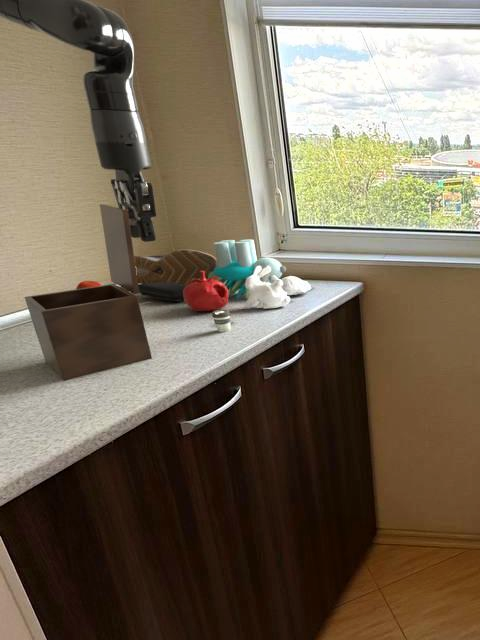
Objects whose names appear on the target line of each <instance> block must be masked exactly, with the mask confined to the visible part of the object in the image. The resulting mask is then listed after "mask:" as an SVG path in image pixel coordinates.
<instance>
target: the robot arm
mask: <svg viewBox="0 0 480 640" xmlns="http://www.w3.org/2000/svg"><path fill="white" fill-rule="evenodd" d="M0 18H1V19H4V20H6V21H9V22H11V23H14V24H16V25H19V26H22V27H24V28H26V29H30V30H32V31H35V32H37V33H40V34H45V35H47V36H49V37H52V38H53V39H55V40H56V41H57V40H58V41H59V42H61V43H63V44H65V45H69V46H71V47H73V48H76V49H79V50H82V51H85V52H88V53H92V56H93V68H92V69H91V70H88V71H86V72H84V73H83V74H82V85H83V91H84V95H85V98H86V101H87V107H88V110H89V111H88V112H89V118H90V119H89V120H90V126H91V131H92V135H93V138H94V142H95V147H96V151H97V155H98V160H99V163H100V167H101V168H102V169H104V170H111V171H115V173H114V174H115V178H111V179H110V184H111V187H112V190H113V193H114V197H115V200H116V203H117V206H118V207H117V208H120V209H124V210H128V216H129V219H133V217H135V218H136V219H137V220H140V221H137V224H138V225H130V231H131V238H133V239H138V238H140V240H141V241H142V242H145V243H148V242H149V243H150V242H154V241H156V239H157V238H156V233H155V230H154V229H155V228H154V225H153V224H154V223H153V220H154V218H156V217H157V211H156V204H155V203H156V202H155V196H154V189H153V184H152V183H151V182H147V181H146V180H145V179H144V176H143V173H142V170H151V168H152V161H151V156H150V151H149V148H148V143H147V138H146V133H145V128H144V125H143V121H142V119H141V115H140V112H139V107H138V103H137V97H136V93H135V90H134V72H135V46H134V41H133V36H132V34H131V31H130V29H129V27H128V25H127V23H126V22H125V20H124V19H123V17H121V16H120V15H119V14H118V13H117V12H115V11H113V10H111V9H109V8H107V7H104V6H101V5H98V4H95V3H93V2H90V1H87V0H0Z"/></svg>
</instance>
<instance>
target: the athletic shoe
mask: <svg viewBox="0 0 480 640" xmlns="http://www.w3.org/2000/svg"><path fill="white" fill-rule="evenodd" d="M134 260H135V266H136V267H137V282H138V283H142V284H147V283H157V282H172V283H178V284H184V285H189V284H191V283H193V282H198V281H197V280H195V279H199V280H201V274H200V271H204V272H205V278H206V279H208V274H209V273H211V272H212V271H214V269H215V268H216V267H217V266H218V263H217V258H216V256H213V255H212V254H209V253H206V252H204V251H201V250H195V249H190V248H189V249H187V248H184V249H176V250H173V251H171V252H169V253H166V254H164V255H146V256H143V255H134ZM189 278H195V279H194V280H193V281H191V280H192V279H189ZM187 279H189V280H187ZM190 281H191V282H190ZM188 282H189V283H188Z"/></svg>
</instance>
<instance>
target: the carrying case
mask: <svg viewBox="0 0 480 640" xmlns="http://www.w3.org/2000/svg"><path fill="white" fill-rule="evenodd" d="M186 286H187V285H184V284H178V283H172V282H157V283H147V284H141V285H140V286H138V290H139V294H141V295H142V296H146V297H151V298H154V299H155V298H157V299H160V300H166V301H170V302H179V301H185V300H184V298H183V290H184V288H185V287H186Z"/></svg>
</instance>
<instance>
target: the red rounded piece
mask: <svg viewBox="0 0 480 640" xmlns="http://www.w3.org/2000/svg"><path fill="white" fill-rule="evenodd" d="M96 286H102V284H101V283H100V282H98V281H93V280H84V281H81V282H79V283H78V284H77V286H76V288H75V289H82V288H89V287H96Z"/></svg>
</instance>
